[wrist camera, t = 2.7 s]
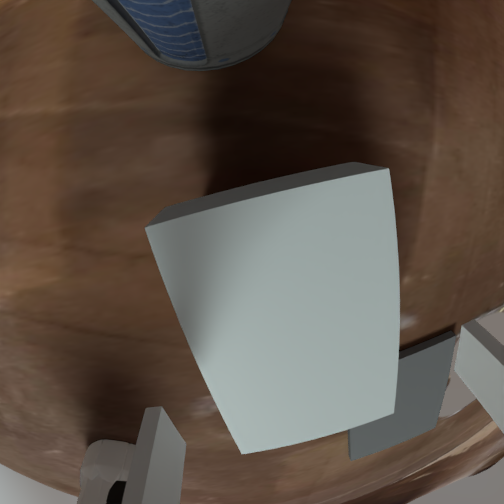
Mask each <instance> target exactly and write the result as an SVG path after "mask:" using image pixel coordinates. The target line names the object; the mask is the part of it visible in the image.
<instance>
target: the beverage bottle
mask: <svg viewBox="0 0 504 504" xmlns="http://www.w3.org/2000/svg"><path fill="white" fill-rule="evenodd" d="M92 1H93V2H94V3H95V4H96V5H98V6H99V7H100V8H101V9H102V10H103V11H104V12H105V13H106V14H107V15H108V16H109V17H110V18H111V19H112V20H113V21H114V22H115V23H116V24H117V25H118V26H119V27H120V28H121V29H122V30H123V31H124V32H125V33H126V34H127V35H128V36H129V37H130V38H131V39H132V40H133V41H134V42H135V43H136V44H137V45H138V46H139V47H140V48H141V49H142V50H143V51H144V52H145V53H146V54H147V55H149V56H150V57H152V58H153V59H155V60H156V61H158V62H160V63H163V64H165V65H167V66H170V67H173V68H178V69H182V70H192V71H207V70H217V69H221V68H225V67H229V66H233V65H236V64H238V63H240V62H242V61H245V60H247V59H249V58H251V57H252V56H254V55H255V54H257V53H258V52H260V51H262V50H263V49H264V48H265V47H266V46H267V45H268V44H269V43H270V42H271V41H272V40H273V39H274V37H275V36H276V34H277V33H278V32H279V30H280V28H281V26H282V24H283V21H284V19H285V16H286V14H287V12H288V7H289V5H290V3H291V1H292V0H92Z"/></svg>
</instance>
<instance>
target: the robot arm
mask: <svg viewBox="0 0 504 504" xmlns="http://www.w3.org/2000/svg"><path fill="white" fill-rule="evenodd" d="M454 371H455V372H456V373H457V375H458V376H459V377H460V378H461V379H462V380H463V382H464V383H465V384H466V386H467V387H468V388H469V389H470V390H471V392H472V393H473V394H474V396H475V397H476V398H477V399H478V401H479V402H480V403H481V404H482V406H483V407H484V408H485V410H486V411H487V412H488V413H489V415H490V416H491V417H492V419H493V420H494V421H495V423H496V424H497V425H498V427H499V428H500V429H501V431H502V432H503V433H504V346H503V345H502V344H501V343H500V342H499V341H498V340H497V339H495V338H494V337H493V336H492V335H491V334H490V333H489V332H488V331H486V330H485V329H484V328H483V327H482V326H481V325H480V324H479V323H478V322H476V321H475V320H472V321H470V322H468V323H465V324H463V325H462V327H461V334H460V340H459V347H458V352H457V358H456V363H455V368H454ZM185 450H186V443H185V441H184V440H183V438H182V437H181V435H180V434H179V432H178V431H177V429H176V428H175V426H174V425H173V423H172V421H171V420H170V418H169V417H168V415H167V414H166V412H165V410H164V409H163V407H162V406H160V407H149V408H146V409H145V413H144V416H143V420H142V423H141V427H140V431H139V435H138V438H137V442H136V446H135V450H134V454H133V458H132V462H131V466H130V470H129V474H128V478H127V481H117V480H116V481H115V483H114V484H113V486H112V487H111V488H110V490H109V492H108V496H107V500H106V502H107V503H106V504H180V495H181V486H182V476H183V467H184V458H185Z"/></svg>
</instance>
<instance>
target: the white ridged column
mask: <svg viewBox="0 0 504 504" xmlns="http://www.w3.org/2000/svg"><path fill="white" fill-rule="evenodd" d="M135 446H136V445H134V444H129V443H127V442H123V441H116V440H108V439H104V440H103V439H102V440H98V441H96V442H94V443H92V444H91V445H89V447H88V449H87V452H86V454H85V457H84V460H83V463H82V466H81V469H80V487H81V490H80V494H79V497H78V501H77V504H106V503H107V502H106V500H107V496H108V492H109V490H110V488H111V487H112V486H113V484H114V483H115V481H116V480H117V481H127V478H128V474H129V470H130V466H131V462H132V458H133V454H134V450H135Z"/></svg>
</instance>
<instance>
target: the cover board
mask: <svg viewBox="0 0 504 504" xmlns="http://www.w3.org/2000/svg"><path fill="white" fill-rule="evenodd" d="M145 230H146V233H147V236H148V239H149V242H150V245H151V248H152V251H153V254H154V256H155V259H156V262H157V265H158V268H159V270H160V273H161V276H162V278H163V281H164V284H165V286H166V289H167V292H168V294H169V297H170V299H171V302H172V305H173V307H174V310H175V312H176V315H177V317H178V320H179V322H180V324H181V327H182V329H183V332H184V334H185V336H186V339H187V341H188V343H189V346H190V348H191V350H192V353H193V355H194V357H195V360H196V362H197V364H198V366H199V369H200V371H201V373H202V375H203V377H204V379H205V382H206V384H207V386H208V388H209V390H210V392H211V394H212V396H213V399H214V401H215V403H216V405H217V407H218V409H219V411H220V413H221V415H222V417H223V419H224V421H225V423H226V425H227V427H228V429H229V431H230V433H231V435H232V436H233V438H234V440H235V442H236V444H237V446H238V448H239V450H240V452H241V453H242V454H247V453H253V452H258V451H264V450H269V449H274V448H279V447H284V446H288V445H293V444H297V443H301V442H305V441H309V440H313V439H317V438H320V437H324V436H328V435H331V434H334V433H338V432H341V431H344V430H348V429H351V428H354V427H357V426H360V425H363V424H366V423H369V422H371V421H374V420H377V419H380V418H382V417H385V416H388V415H390V414H393V413H394V407H395V398H396V387H397V374H398V358H399V331H400V290H399V262H398V246H397V232H396V221H395V211H394V202H393V194H392V186H391V179H390V172H389V168H385V167H380V166H375V165H369V164H364V163H358V162H349V163H344V164H339V165H334V166H329V167H324V168H319V169H315V170H310V171H305V172H301V173H296V174H292V175H287V176H283V177H279V178H274V179H270V180H266V181H262V182H258V183H253V184H249V185H245V186H241V187H237V188H234V189H230V190H226V191H222V192H218V193H214V194H211V195H207V196H203V197H200V198H196V199H192V200H189V201H185V202H182V203H178V204H175V205H171V206H168V207H165V208H164V209H163V210H162V211H161V212H160V213H159V214H158V215H157V216H156V217H155V218H154V219H153V220H152V221H151V222H150V223H149V224H148V225H147V226H146V227H145Z"/></svg>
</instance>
